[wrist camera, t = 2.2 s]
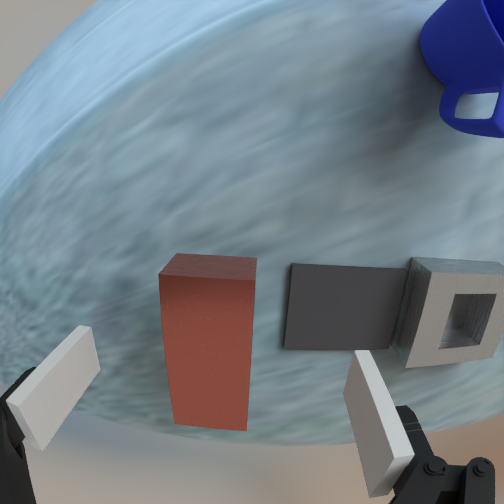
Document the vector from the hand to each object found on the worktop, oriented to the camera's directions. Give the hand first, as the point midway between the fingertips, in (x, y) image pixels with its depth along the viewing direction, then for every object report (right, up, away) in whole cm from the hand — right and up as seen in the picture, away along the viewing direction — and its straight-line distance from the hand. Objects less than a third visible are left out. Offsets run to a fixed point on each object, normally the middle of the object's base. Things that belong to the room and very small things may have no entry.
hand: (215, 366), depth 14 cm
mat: (+9, +1, +10) cm, 13 cm away
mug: (+17, +19, +4) cm, 26 cm away
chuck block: (+19, +1, +9) cm, 21 cm away
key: (0, +3, +9) cm, 10 cm away
